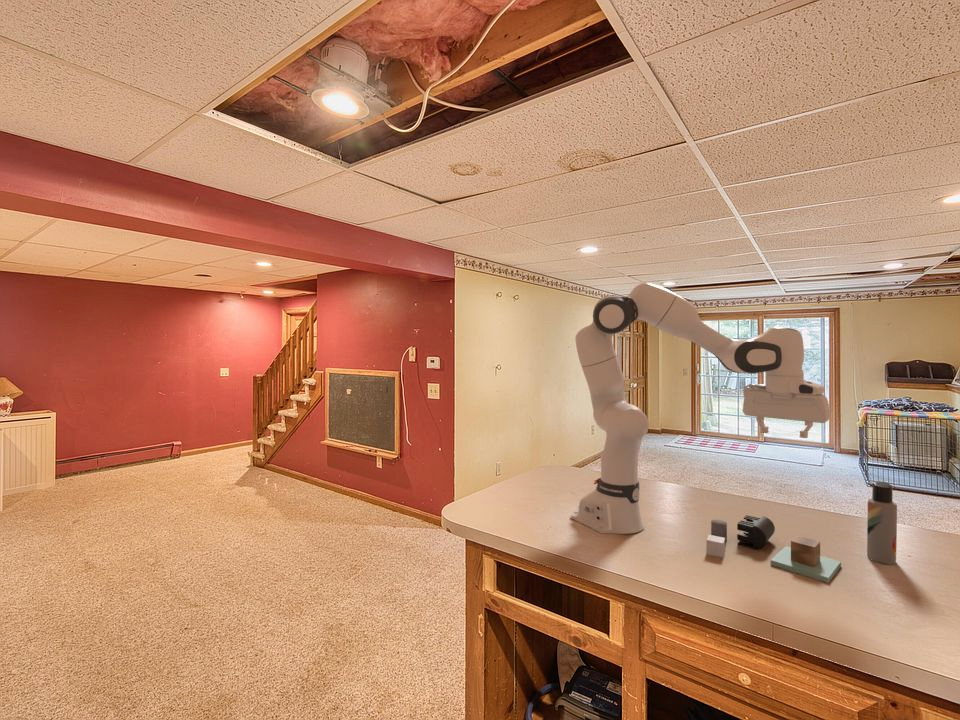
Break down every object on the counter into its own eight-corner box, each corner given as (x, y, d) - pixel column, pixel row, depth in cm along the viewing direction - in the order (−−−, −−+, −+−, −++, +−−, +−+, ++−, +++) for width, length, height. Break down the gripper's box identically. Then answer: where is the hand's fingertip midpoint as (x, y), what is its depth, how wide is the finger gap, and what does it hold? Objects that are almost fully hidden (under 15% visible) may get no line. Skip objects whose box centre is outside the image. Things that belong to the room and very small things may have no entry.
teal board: (770, 564, 116) (770, 560, 116) (785, 550, 124) (785, 546, 124) (828, 582, 107) (828, 577, 107) (840, 566, 115) (841, 561, 115)
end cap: (765, 553, 123) (766, 528, 123) (736, 545, 128) (736, 521, 128) (775, 541, 130) (775, 518, 130) (747, 534, 135) (747, 512, 135)
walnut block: (790, 560, 116) (790, 540, 116) (796, 554, 119) (797, 535, 119) (814, 567, 112) (814, 547, 112) (820, 560, 115) (820, 541, 115)
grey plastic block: (706, 554, 123) (706, 539, 123) (708, 548, 126) (708, 534, 126) (723, 558, 120) (723, 543, 120) (725, 552, 124) (725, 537, 124)
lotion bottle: (896, 558, 118) (897, 482, 118) (896, 567, 114) (897, 488, 114) (867, 552, 122) (868, 478, 122) (866, 560, 118) (867, 483, 117)
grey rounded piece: (708, 539, 132) (708, 522, 132) (714, 535, 135) (714, 518, 134) (723, 543, 129) (723, 526, 129) (729, 539, 131) (729, 522, 131)
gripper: (739, 384, 132) (738, 431, 133) (825, 388, 117) (824, 442, 117) (747, 382, 137) (747, 428, 137) (831, 387, 121) (831, 438, 121)
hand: (783, 435), depth 127 cm, fingers open, 8 cm apart
